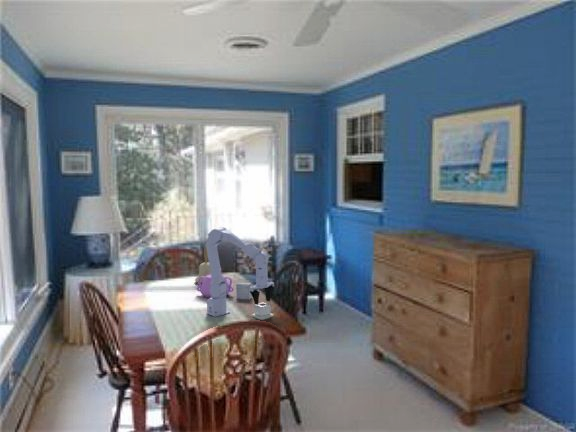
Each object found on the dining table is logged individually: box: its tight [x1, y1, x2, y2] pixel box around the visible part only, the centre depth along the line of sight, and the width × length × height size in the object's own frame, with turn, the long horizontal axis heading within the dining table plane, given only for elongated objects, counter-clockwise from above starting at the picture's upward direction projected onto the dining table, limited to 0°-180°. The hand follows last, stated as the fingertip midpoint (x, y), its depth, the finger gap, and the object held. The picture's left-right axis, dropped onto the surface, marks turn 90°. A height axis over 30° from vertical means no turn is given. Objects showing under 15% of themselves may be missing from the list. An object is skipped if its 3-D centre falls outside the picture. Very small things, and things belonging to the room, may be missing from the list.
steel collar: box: [254, 302, 272, 317], centre depth 233 cm, size 6×6×5 cm
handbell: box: [194, 244, 211, 284], centre depth 304 cm, size 15×15×25 cm
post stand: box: [250, 305, 275, 321], centre depth 233 cm, size 8×8×6 cm
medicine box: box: [235, 282, 253, 301], centre depth 265 cm, size 8×4×9 cm, turn 74°
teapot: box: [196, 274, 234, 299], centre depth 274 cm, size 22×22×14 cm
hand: (262, 302), depth 232 cm, fingers open, 7 cm apart
